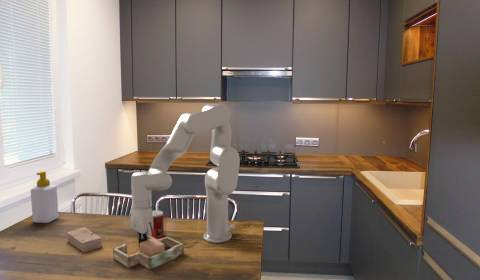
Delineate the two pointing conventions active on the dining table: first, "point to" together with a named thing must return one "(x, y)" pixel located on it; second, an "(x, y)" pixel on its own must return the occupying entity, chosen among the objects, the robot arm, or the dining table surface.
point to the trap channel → (170, 253)
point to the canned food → (157, 224)
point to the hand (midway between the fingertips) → (143, 246)
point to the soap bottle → (44, 200)
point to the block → (151, 247)
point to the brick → (84, 239)
